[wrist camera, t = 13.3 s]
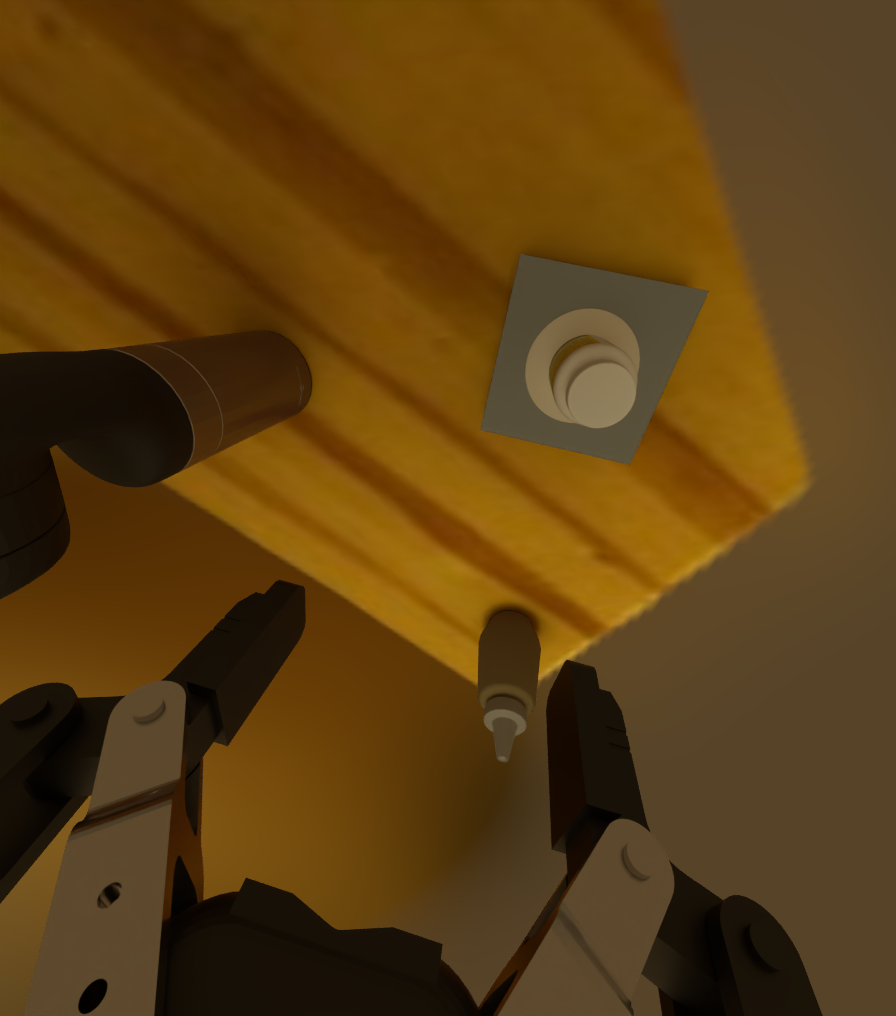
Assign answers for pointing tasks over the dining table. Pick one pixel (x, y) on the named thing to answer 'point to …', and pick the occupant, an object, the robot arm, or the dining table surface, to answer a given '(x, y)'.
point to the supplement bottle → (593, 381)
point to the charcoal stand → (574, 312)
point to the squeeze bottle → (507, 677)
